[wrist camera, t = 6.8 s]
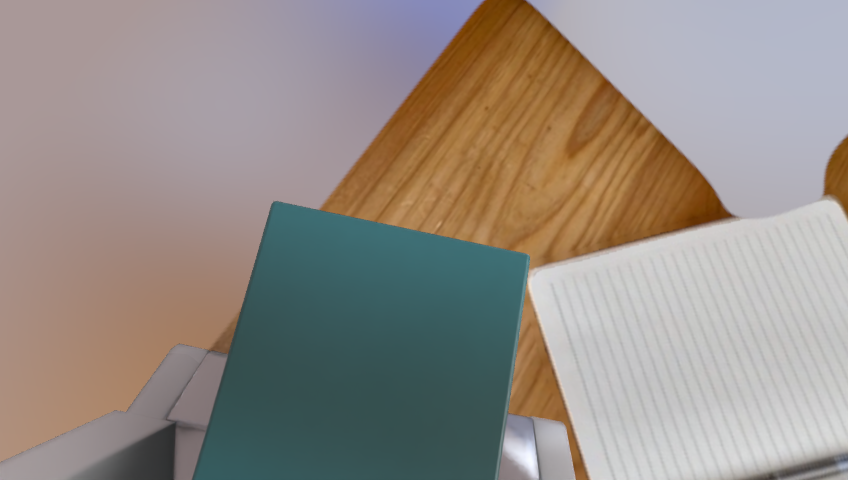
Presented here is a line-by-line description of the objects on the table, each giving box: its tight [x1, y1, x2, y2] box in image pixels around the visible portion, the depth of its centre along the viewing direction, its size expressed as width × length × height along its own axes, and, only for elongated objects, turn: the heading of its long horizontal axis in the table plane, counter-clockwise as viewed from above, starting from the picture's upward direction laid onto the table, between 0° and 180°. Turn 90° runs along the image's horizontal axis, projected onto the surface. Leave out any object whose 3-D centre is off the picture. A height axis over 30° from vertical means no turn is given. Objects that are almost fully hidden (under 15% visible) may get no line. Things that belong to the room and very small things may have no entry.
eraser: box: [192, 201, 530, 480], centre depth 11 cm, size 6×4×8 cm, turn 169°
